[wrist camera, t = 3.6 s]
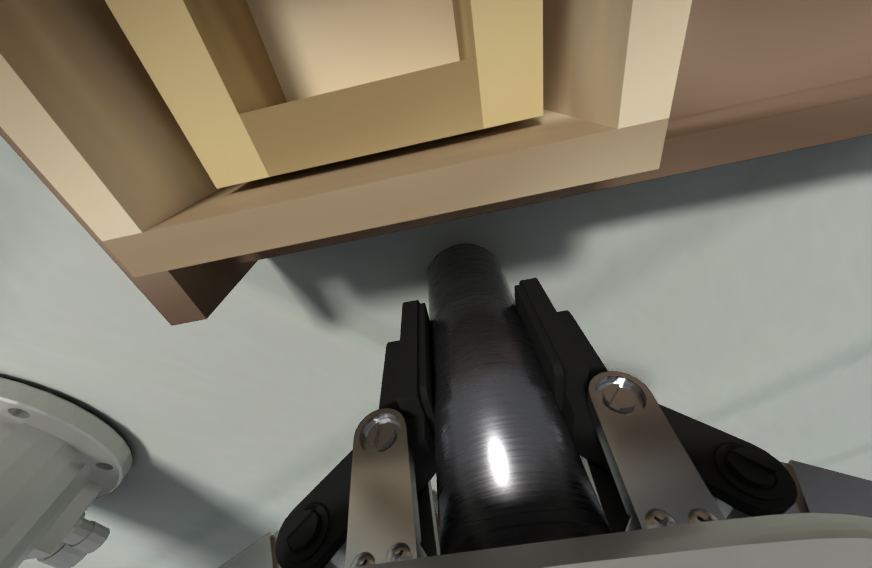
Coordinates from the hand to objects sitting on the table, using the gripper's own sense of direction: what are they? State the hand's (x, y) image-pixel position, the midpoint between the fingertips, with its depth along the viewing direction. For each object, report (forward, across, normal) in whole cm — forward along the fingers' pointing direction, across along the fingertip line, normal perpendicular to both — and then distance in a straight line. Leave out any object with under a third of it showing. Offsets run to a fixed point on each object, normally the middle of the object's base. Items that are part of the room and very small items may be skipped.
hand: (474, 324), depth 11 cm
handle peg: (+3, 0, 0) cm, 3 cm away
